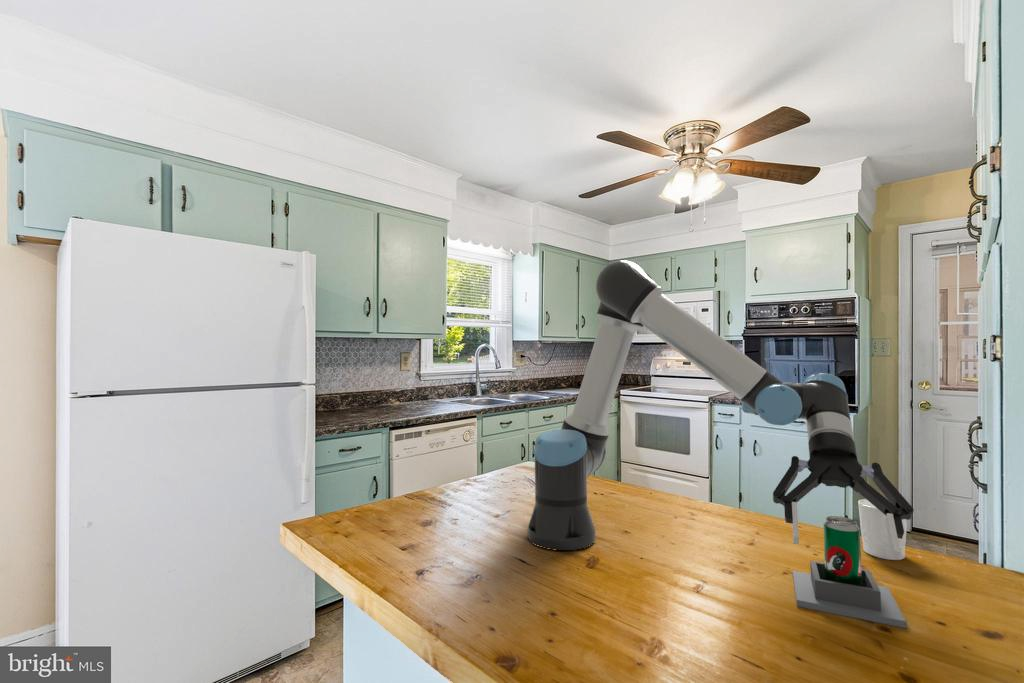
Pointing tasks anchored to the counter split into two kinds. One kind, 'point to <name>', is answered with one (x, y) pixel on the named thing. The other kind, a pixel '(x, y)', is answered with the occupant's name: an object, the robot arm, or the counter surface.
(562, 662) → the counter surface
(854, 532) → the soda can
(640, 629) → the counter surface
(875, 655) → the counter surface
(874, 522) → the white cup
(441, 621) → the counter surface
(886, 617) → the mount
